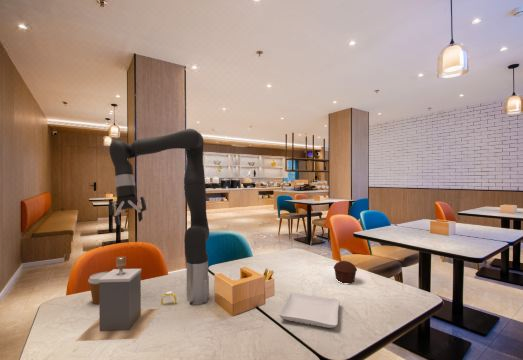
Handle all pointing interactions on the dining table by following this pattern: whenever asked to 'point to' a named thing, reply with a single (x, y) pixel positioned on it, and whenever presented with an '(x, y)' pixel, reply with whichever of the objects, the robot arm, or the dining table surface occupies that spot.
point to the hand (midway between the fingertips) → (129, 223)
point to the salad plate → (311, 310)
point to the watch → (168, 295)
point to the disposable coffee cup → (95, 286)
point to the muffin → (345, 271)
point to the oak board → (133, 333)
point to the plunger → (121, 263)
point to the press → (119, 299)
